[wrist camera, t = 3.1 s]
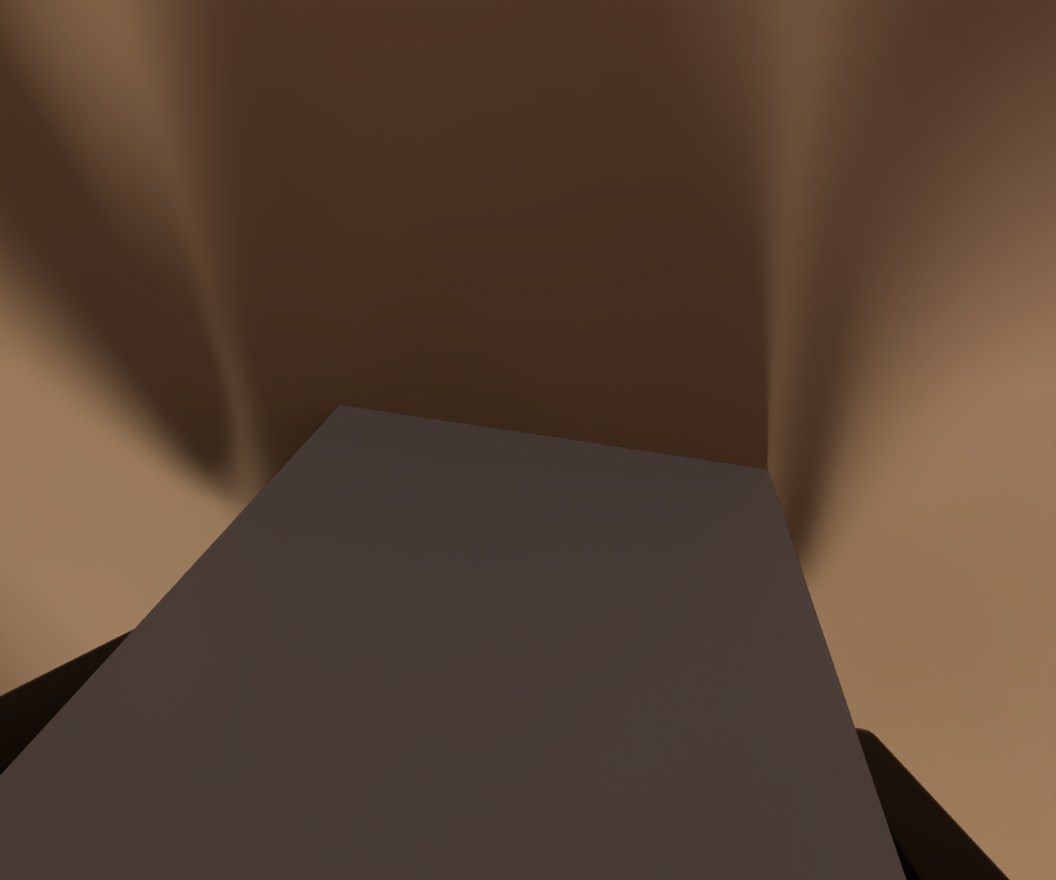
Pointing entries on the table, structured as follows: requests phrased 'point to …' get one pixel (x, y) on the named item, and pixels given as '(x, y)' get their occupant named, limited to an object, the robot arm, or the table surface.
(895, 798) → the robot arm
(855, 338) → the table surface
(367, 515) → the stone
